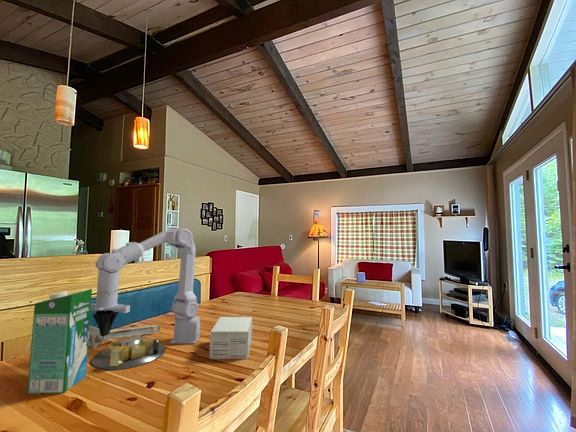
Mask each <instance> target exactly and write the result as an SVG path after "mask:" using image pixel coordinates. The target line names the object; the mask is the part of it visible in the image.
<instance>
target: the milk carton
mask: <svg viewBox="0 0 576 432" xmlns="http://www.w3.org/2000/svg"><path fill="white" fill-rule="evenodd" d="M92 293H93V288H89V289H86V290H81V291H76V292H72V293H68V290H65V291H59V292H55V293H51V294H49V295H48V298H49V299H46V300H42V301H40V302H37V303H34V308H33V309H34V310H33V319H32V320H33V321H32V332H31V333H32V334H31V346H30V354H29V355H30V356H29V368H28V369H29V370H28V382H27V392H26V394H27V395H31V394H32V395H38V394H41V393H44V394H64V393H66V392H67V391H68V390H70V389H71V388H72V387H74V386H75V385H76V384H77V383H78V382H80V381H82V380H83V379H84V378H85V377H86V376H87V368H88V355H89V354H88V353H89V348H88V342H89V336H90V335H89V327H90V326H91V325H90V324H91V312H92V311H91V304H92V296H93V294H92ZM41 395H42V394H41Z"/></svg>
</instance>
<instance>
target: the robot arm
mask: <svg viewBox="0 0 576 432" xmlns="http://www.w3.org/2000/svg"><path fill="white" fill-rule="evenodd" d="M162 244H168V245H171V246H172V247H174V248H176V249H177V250H178V251H179V252H180V262H179V263H180V265H179V279H178V290H177V291H178V292H177V293H176V294H175V295H174V299H173V302H172V304H171V312H172V313H173V316H174V324H173V328H174V330H173V339H171V340H170V342H169V344H172V345H173V344H175V345H176V344H196V343H197V342H198V340H199V339H200V336H201V334H200V333H201V332H200V331H201V318H200V317H199V316H196V315H197V314H198V312H199V304H198V301H197V300H198V297H197V295H196V294H195V293H194V283H195V282H194V280H195V267H196V266H195V265H196V264H195V263H196V252H197V250H196V248H197V247H196V244H195V242H194V233H192V232H191V231H190V230H189V229H188V228H168V229H167V230H163V231H161V232H159V233H157V234H155V235H153V236H151V237H149V238H146V239H145V240H143V241H141V242H135V241H132V242H131V241H128V242H126V243H125V245H124V246H121V247H119V248H113V249H112V250H111V252H110V253H109V252H107V253H106V252H105V253H102V254H100V255H99V257H97V260H96V261H95V267H96V268H97V269H98V270H97V271H98V272H97V273H98V274H97V283H96V284H97V287H96V301H95V303H91V312H95V313H93V314H92V317H93V319H94V320H95V322H96V324H97V326H98V327H97V328H99V331H100V336H106V335H108V334H109V332H110V331H111V328H112V326H113V323H114V321H115V320H116V318H117V316H118V315H119V313H123V314H127V313H129V312H131V305H128V304H121V303H118V298H119V295H118V294H119V285H120V284H119V283H120V281H119V280H120V271H121V269H122V268H123V267H124V266H125V265H127V264H129V263H131V262H134V261H135V260H138V259H139V258H141V257H142V256H143V255H144V252H145V251H149V250H150V249H151V250H152V249H153V248H155V247H158V246H159V245H162Z"/></svg>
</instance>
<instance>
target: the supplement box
mask: <svg viewBox="0 0 576 432" xmlns="http://www.w3.org/2000/svg"><path fill="white" fill-rule="evenodd" d="M252 339H253V316H220V317H219V318H218V319H217V321H216V322H215V324H214V325H213V327H212V328H211V330H210V335H209V359H210V360H211V359H212V360H213V359H214V360H221V359H224V360H227V359H229V360H233V359H235V360H237V359H240V360H241V359H243V360H244V359H247V360H248V358H249V354H250V349H251V344H252V341H253V340H252Z"/></svg>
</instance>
